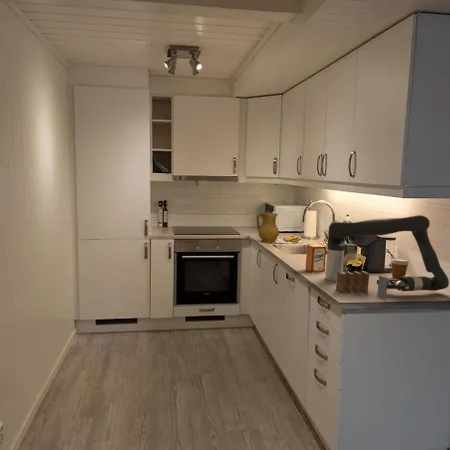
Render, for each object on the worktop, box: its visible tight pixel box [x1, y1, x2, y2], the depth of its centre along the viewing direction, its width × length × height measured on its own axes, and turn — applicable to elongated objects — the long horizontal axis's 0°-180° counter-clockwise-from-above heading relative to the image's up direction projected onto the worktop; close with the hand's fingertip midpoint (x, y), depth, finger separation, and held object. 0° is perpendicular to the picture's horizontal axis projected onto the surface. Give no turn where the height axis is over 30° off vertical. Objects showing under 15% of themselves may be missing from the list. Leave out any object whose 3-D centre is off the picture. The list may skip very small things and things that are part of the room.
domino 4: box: [360, 270, 370, 294], centre depth 221 cm, size 2×5×10 cm, turn 14°
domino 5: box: [376, 274, 389, 299], centre depth 213 cm, size 2×5×10 cm, turn 14°
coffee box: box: [343, 243, 359, 271], centre depth 270 cm, size 9×6×16 cm
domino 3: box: [352, 270, 361, 294], centre depth 220 cm, size 2×5×10 cm, turn 14°
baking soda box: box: [305, 244, 328, 273], centre depth 262 cm, size 10×6×16 cm
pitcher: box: [256, 212, 280, 244], centre depth 365 cm, size 17×19×25 cm
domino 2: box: [344, 270, 353, 294], centre depth 218 cm, size 2×5×10 cm, turn 14°
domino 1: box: [335, 272, 345, 294], centre depth 217 cm, size 2×5×10 cm, turn 14°
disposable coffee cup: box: [390, 257, 410, 280], centre depth 248 cm, size 10×10×12 cm
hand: (382, 284), depth 213 cm, fingers open, 8 cm apart
